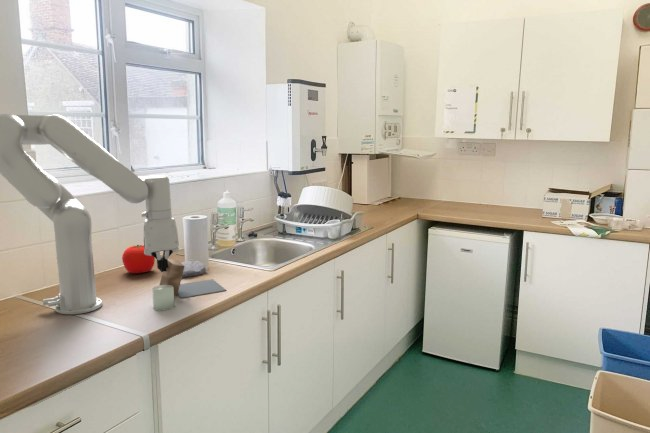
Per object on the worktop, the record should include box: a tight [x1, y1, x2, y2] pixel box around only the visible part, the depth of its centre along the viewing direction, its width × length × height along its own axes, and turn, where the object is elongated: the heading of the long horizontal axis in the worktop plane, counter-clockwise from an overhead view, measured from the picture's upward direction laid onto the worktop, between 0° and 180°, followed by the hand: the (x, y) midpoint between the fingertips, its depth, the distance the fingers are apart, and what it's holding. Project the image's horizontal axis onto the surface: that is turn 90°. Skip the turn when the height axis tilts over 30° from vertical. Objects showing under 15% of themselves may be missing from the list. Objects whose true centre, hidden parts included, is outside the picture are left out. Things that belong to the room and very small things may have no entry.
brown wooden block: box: [159, 258, 185, 297], centre depth 162 cm, size 4×8×10 cm, turn 31°
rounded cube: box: [152, 284, 175, 311], centre depth 150 cm, size 6×6×6 cm
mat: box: [177, 278, 227, 299], centre depth 167 cm, size 15×14×1 cm
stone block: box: [181, 260, 207, 279], centre depth 185 cm, size 12×5×10 cm
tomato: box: [121, 244, 156, 274], centre depth 185 cm, size 11×12×10 cm
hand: (162, 270), depth 160 cm, fingers closed
